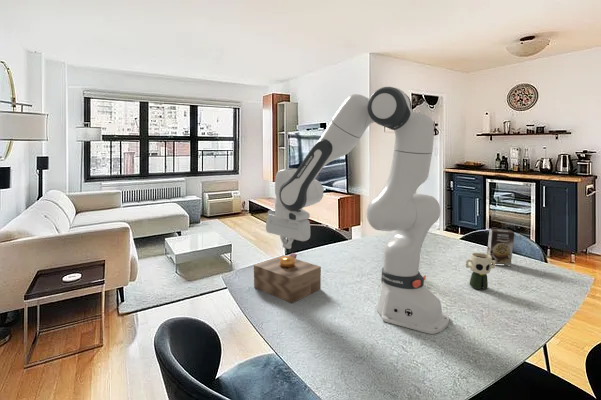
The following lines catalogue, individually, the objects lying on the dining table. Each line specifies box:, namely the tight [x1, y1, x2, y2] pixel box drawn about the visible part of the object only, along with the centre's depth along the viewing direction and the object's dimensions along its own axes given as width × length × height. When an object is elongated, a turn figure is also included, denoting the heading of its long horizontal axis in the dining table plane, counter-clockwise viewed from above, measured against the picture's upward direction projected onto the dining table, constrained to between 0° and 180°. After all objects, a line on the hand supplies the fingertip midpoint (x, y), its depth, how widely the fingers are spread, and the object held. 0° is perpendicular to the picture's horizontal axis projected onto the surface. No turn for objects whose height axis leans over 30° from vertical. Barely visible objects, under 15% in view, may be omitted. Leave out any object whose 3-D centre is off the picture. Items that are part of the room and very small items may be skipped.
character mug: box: [465, 252, 496, 290], centre depth 131 cm, size 11×7×13 cm, turn 85°
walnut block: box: [253, 254, 322, 304], centre depth 130 cm, size 20×16×9 cm
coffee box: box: [486, 227, 515, 265], centre depth 158 cm, size 9×6×16 cm
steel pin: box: [280, 255, 295, 269], centre depth 130 cm, size 6×6×12 cm
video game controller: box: [288, 252, 298, 259], centre depth 154 cm, size 10×5×7 cm, turn 170°
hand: (287, 247), depth 128 cm, fingers closed
